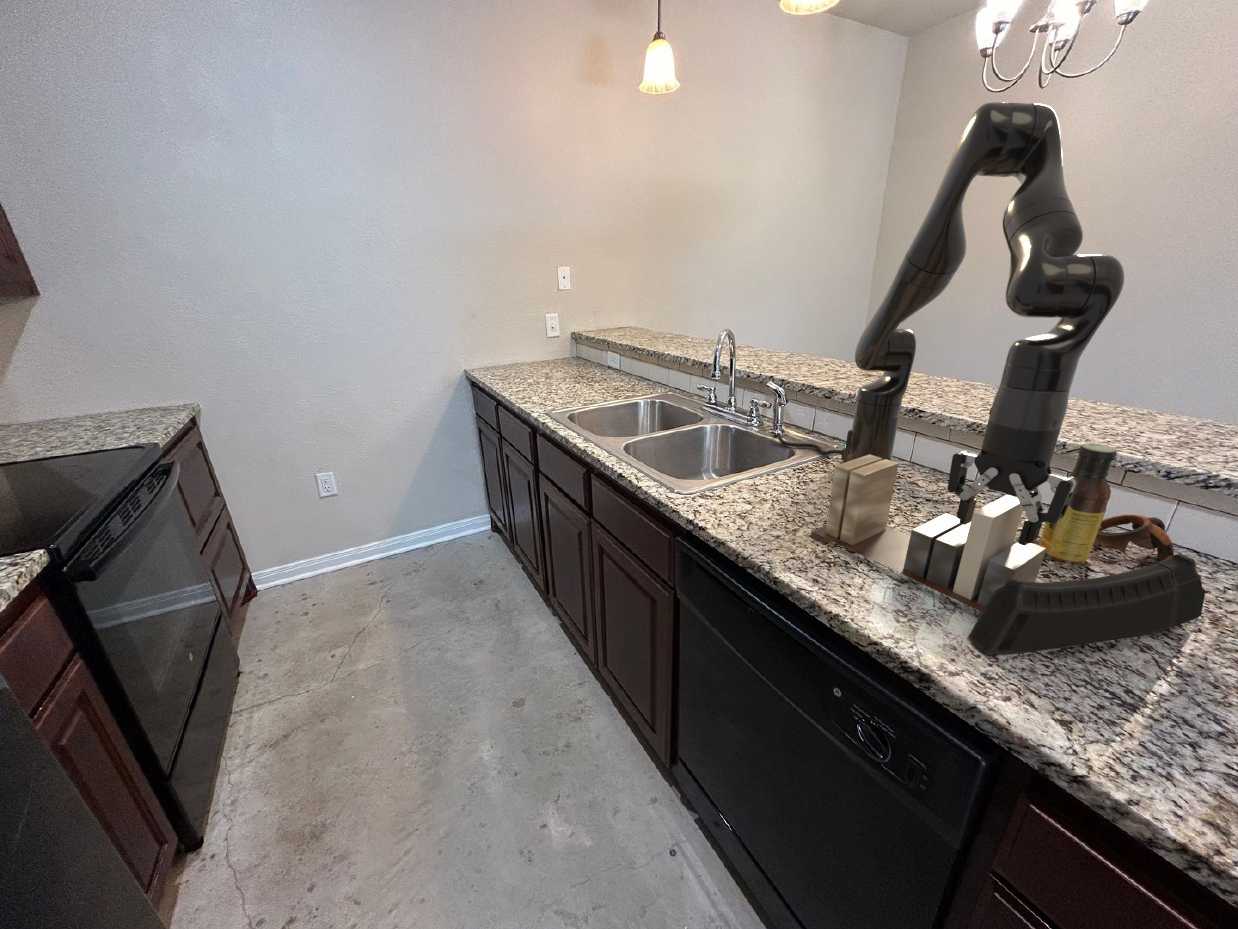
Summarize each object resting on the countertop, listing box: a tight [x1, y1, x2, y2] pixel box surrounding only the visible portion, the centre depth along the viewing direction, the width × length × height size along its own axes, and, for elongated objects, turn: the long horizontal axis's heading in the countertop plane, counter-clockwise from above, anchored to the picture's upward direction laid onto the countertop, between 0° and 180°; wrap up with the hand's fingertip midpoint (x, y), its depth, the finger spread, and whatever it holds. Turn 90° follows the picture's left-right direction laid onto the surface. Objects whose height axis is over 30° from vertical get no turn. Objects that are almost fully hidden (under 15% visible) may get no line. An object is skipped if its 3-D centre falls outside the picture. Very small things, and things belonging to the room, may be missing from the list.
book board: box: [810, 455, 1046, 613], centre depth 79 cm, size 31×13×14 cm, turn 32°
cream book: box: [953, 494, 1024, 600], centre depth 72 cm, size 2×10×13 cm, turn 122°
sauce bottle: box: [1038, 442, 1118, 566], centre depth 78 cm, size 6×6×20 cm
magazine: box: [967, 553, 1206, 656], centre depth 62 cm, size 17×3×30 cm
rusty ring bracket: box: [1092, 514, 1175, 561], centre depth 82 cm, size 12×10×8 cm
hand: (993, 532), depth 71 cm, fingers open, 7 cm apart
